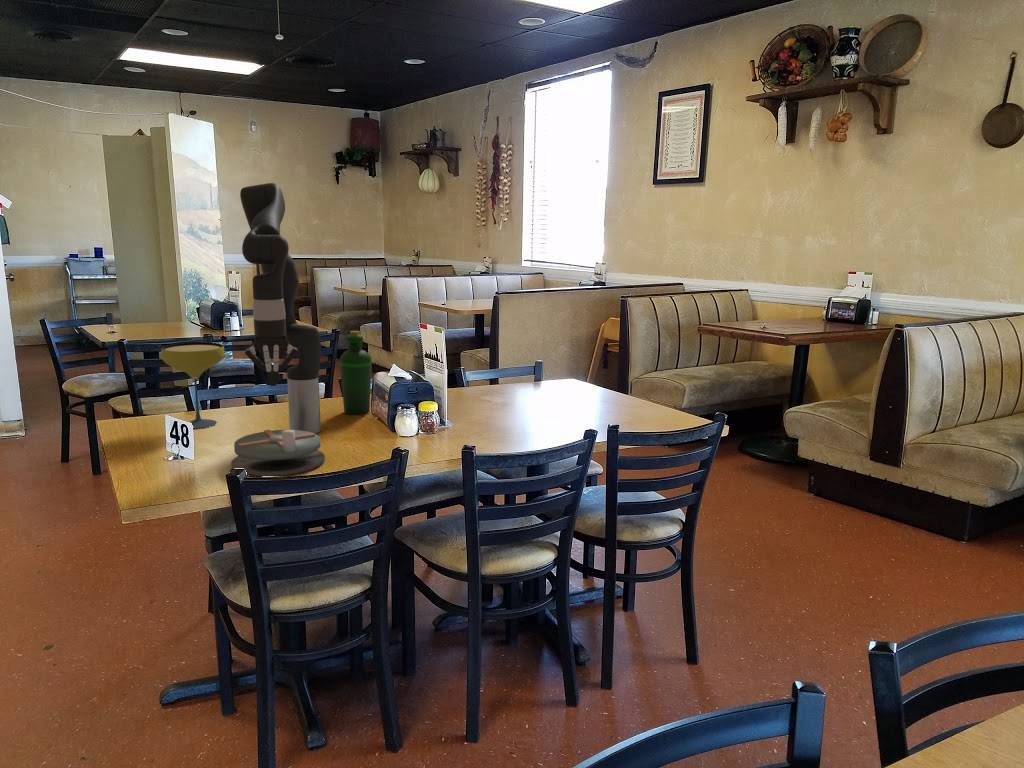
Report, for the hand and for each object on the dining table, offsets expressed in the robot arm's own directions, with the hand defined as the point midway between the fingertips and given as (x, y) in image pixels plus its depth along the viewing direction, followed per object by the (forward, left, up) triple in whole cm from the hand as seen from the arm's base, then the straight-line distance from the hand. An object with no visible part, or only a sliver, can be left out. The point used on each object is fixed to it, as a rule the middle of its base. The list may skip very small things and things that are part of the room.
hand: (273, 385), depth 184 cm
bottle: (-62, +18, -23) cm, 68 cm away
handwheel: (-9, -1, -19) cm, 21 cm away
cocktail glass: (-51, -31, -23) cm, 64 cm away
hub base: (-9, -1, -23) cm, 25 cm away
